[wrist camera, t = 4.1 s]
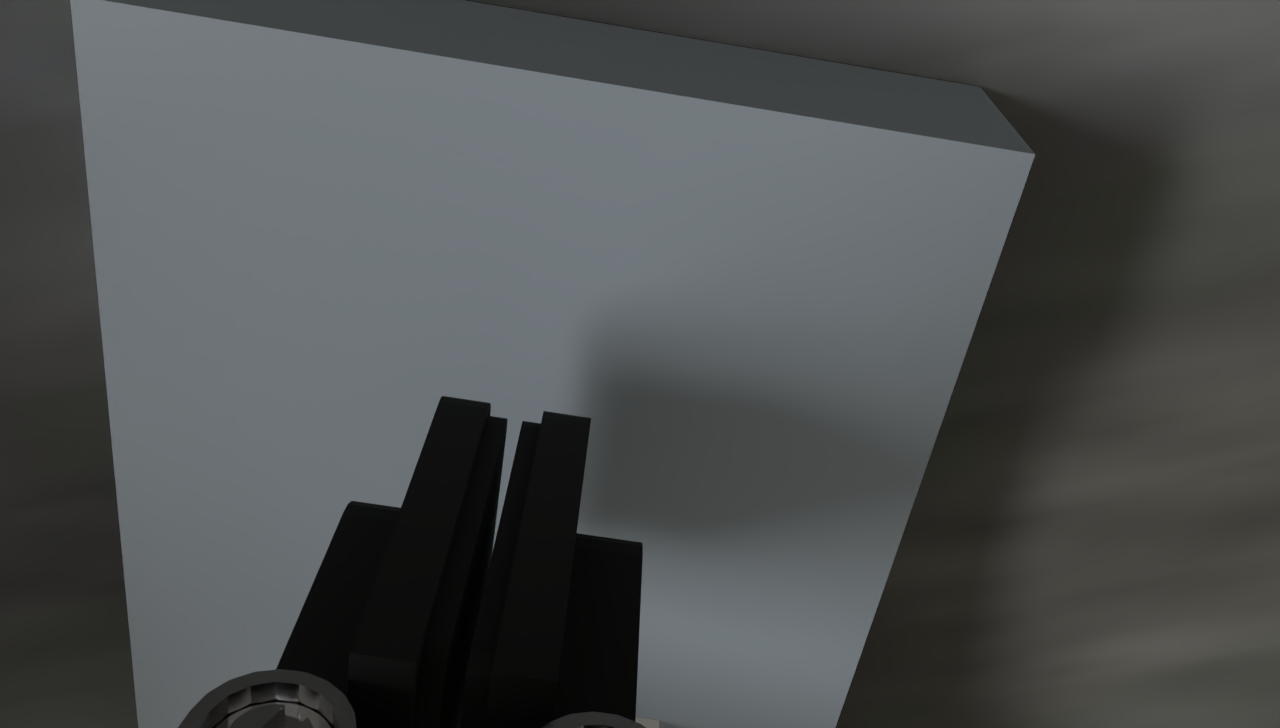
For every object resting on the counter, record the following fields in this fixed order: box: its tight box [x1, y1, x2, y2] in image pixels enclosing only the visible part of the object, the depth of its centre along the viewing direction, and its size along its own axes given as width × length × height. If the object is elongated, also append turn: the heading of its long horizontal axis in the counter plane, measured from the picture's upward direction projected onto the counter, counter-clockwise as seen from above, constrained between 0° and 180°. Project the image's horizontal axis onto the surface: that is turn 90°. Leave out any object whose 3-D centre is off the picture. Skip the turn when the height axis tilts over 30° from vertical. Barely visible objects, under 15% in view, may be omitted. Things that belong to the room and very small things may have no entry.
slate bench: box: [70, 0, 1035, 728], centre depth 18 cm, size 20×10×2 cm, turn 171°
